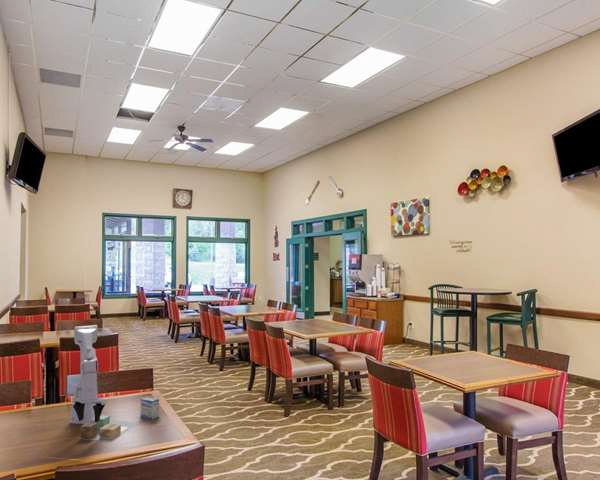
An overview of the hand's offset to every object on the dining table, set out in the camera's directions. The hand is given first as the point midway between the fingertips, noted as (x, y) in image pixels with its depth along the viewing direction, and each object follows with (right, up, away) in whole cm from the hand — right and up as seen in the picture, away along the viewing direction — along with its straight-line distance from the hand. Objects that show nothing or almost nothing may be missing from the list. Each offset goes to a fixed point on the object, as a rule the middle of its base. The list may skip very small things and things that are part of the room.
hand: (89, 420), depth 196 cm
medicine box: (+18, -8, +24) cm, 31 cm away
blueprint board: (+6, -7, +7) cm, 12 cm away
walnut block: (0, -7, 0) cm, 7 cm away
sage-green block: (+2, -7, +9) cm, 11 cm away
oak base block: (+8, -7, +1) cm, 11 cm away
